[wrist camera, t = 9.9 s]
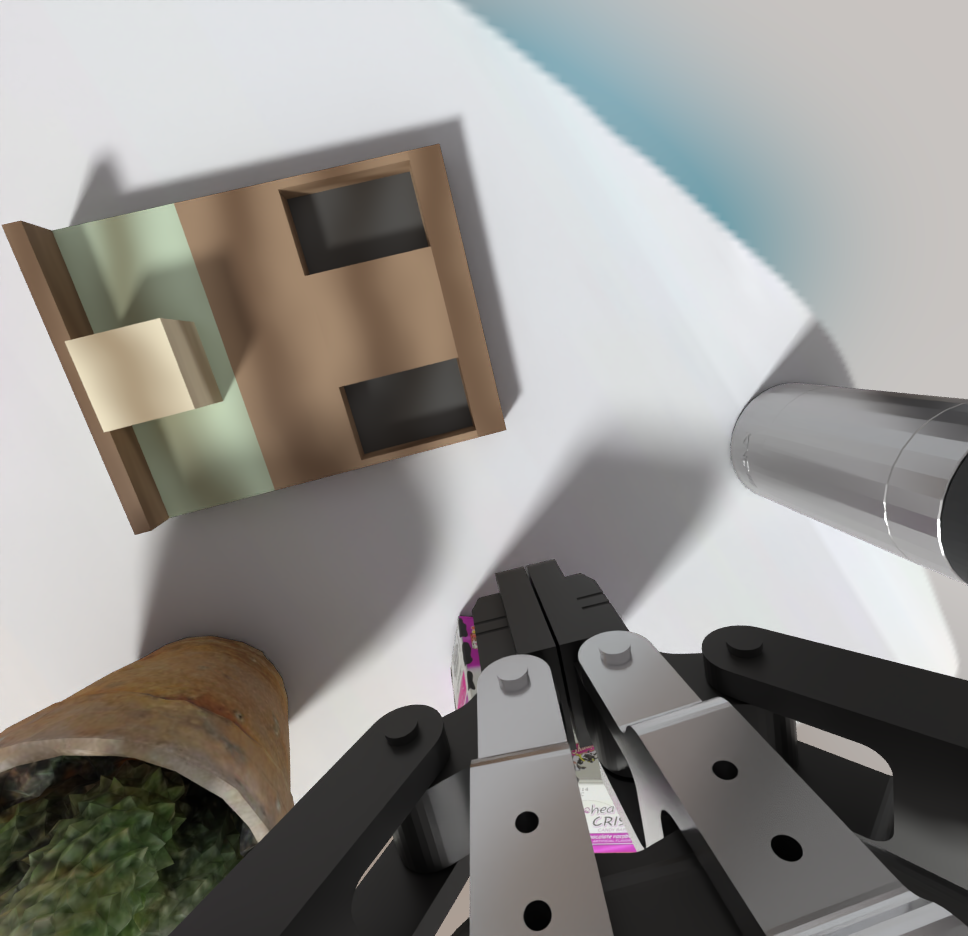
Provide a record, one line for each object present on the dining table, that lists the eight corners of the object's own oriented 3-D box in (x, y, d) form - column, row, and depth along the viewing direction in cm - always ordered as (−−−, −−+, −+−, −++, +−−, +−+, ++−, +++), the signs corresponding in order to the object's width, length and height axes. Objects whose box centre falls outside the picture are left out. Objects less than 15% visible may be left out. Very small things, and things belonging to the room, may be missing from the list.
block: (193, 322, 33) (159, 318, 28) (223, 401, 34) (194, 409, 30) (111, 342, 32) (64, 341, 28) (144, 421, 34) (103, 432, 29)
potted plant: (135, 548, 38) (-366, 905, 14) (376, 645, 42) (319, 1056, 17) (43, 756, 40) (-517, 1367, 16) (278, 828, 44) (110, 1410, 20)
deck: (437, 157, 35) (441, 127, 30) (500, 424, 39) (512, 435, 34) (62, 242, 33) (1, 224, 28) (171, 510, 37) (134, 534, 33)
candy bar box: (448, 670, 43) (467, 860, 27) (456, 613, 42) (481, 775, 26) (582, 677, 45) (673, 860, 29) (592, 622, 44) (693, 780, 28)
